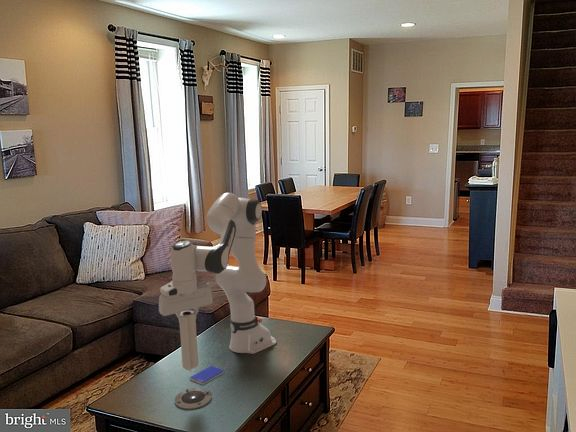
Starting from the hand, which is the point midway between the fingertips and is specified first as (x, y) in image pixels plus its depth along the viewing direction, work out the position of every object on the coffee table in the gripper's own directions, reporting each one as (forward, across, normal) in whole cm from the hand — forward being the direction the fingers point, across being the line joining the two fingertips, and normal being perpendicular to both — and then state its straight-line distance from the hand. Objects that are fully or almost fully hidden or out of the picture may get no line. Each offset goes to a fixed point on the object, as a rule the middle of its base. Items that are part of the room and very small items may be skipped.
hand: (187, 320), depth 189 cm
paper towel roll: (+18, +1, 0) cm, 19 cm away
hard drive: (+33, -12, -14) cm, 37 cm away
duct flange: (+32, 0, 0) cm, 32 cm away
